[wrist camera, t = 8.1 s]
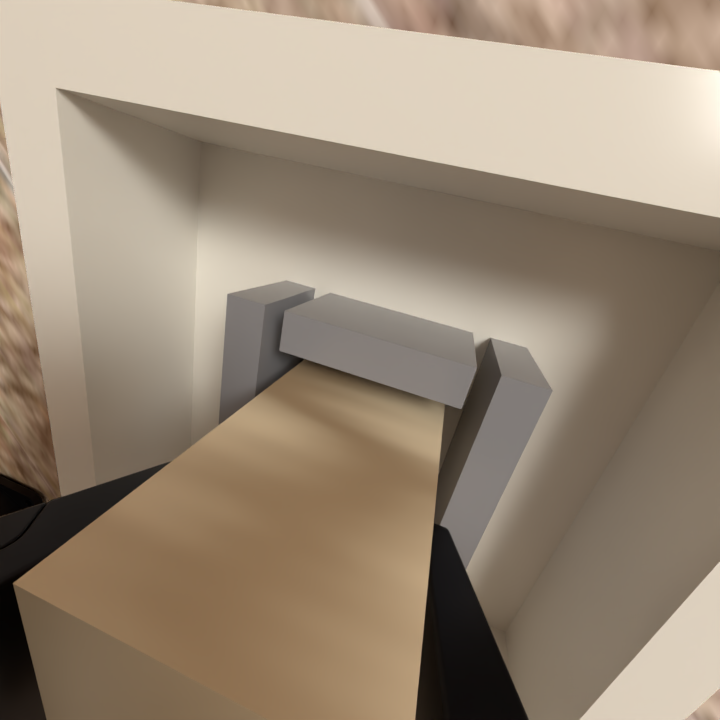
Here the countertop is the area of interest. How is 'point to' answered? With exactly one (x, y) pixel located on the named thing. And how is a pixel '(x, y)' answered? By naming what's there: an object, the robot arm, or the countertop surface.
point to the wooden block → (254, 568)
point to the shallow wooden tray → (402, 293)
